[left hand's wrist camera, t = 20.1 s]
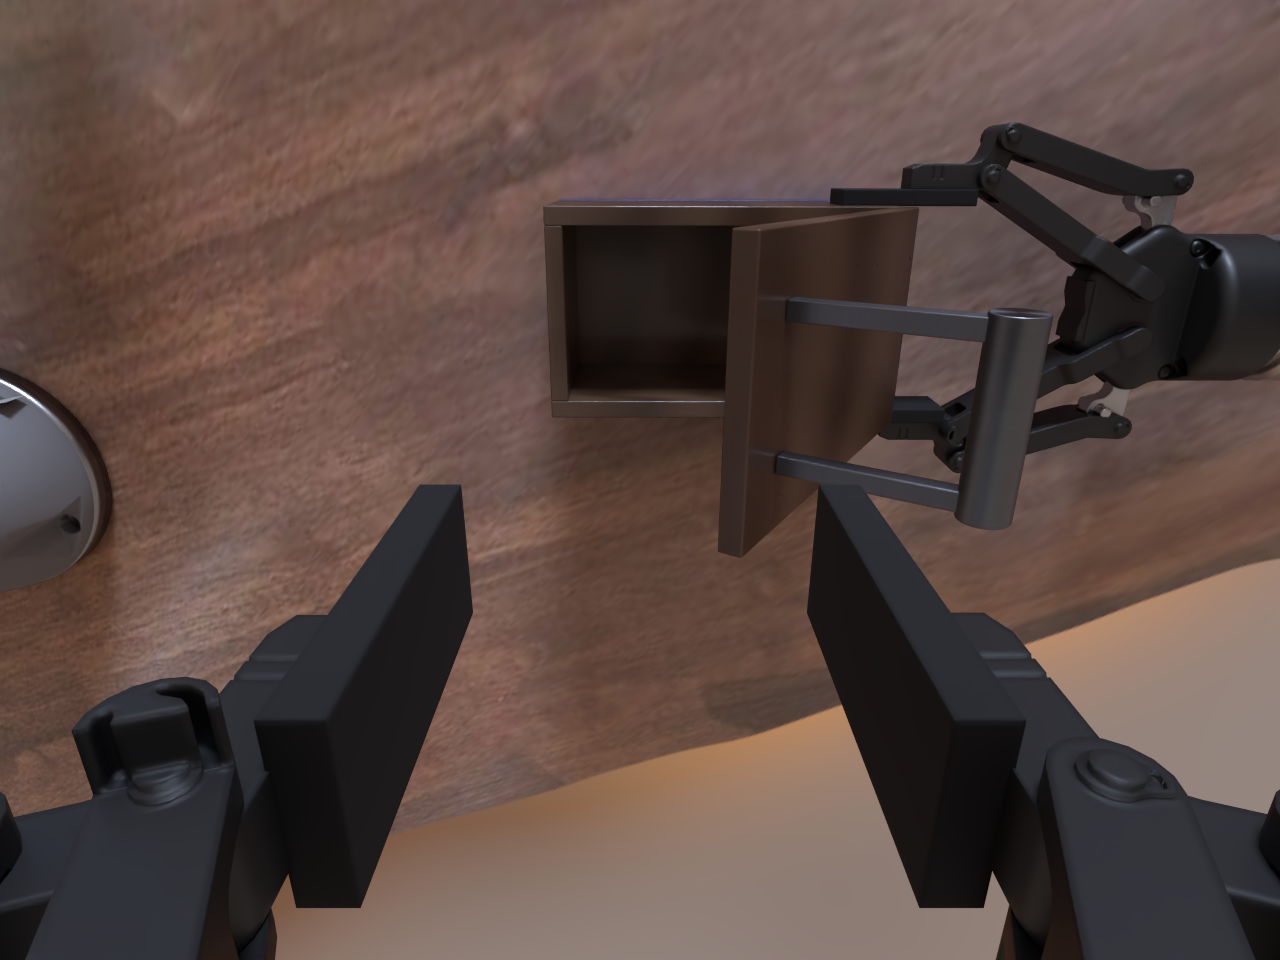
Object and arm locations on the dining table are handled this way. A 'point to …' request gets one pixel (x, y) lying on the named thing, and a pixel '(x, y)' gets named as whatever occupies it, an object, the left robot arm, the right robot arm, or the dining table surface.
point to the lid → (855, 374)
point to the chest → (647, 300)
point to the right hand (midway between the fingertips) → (826, 308)
